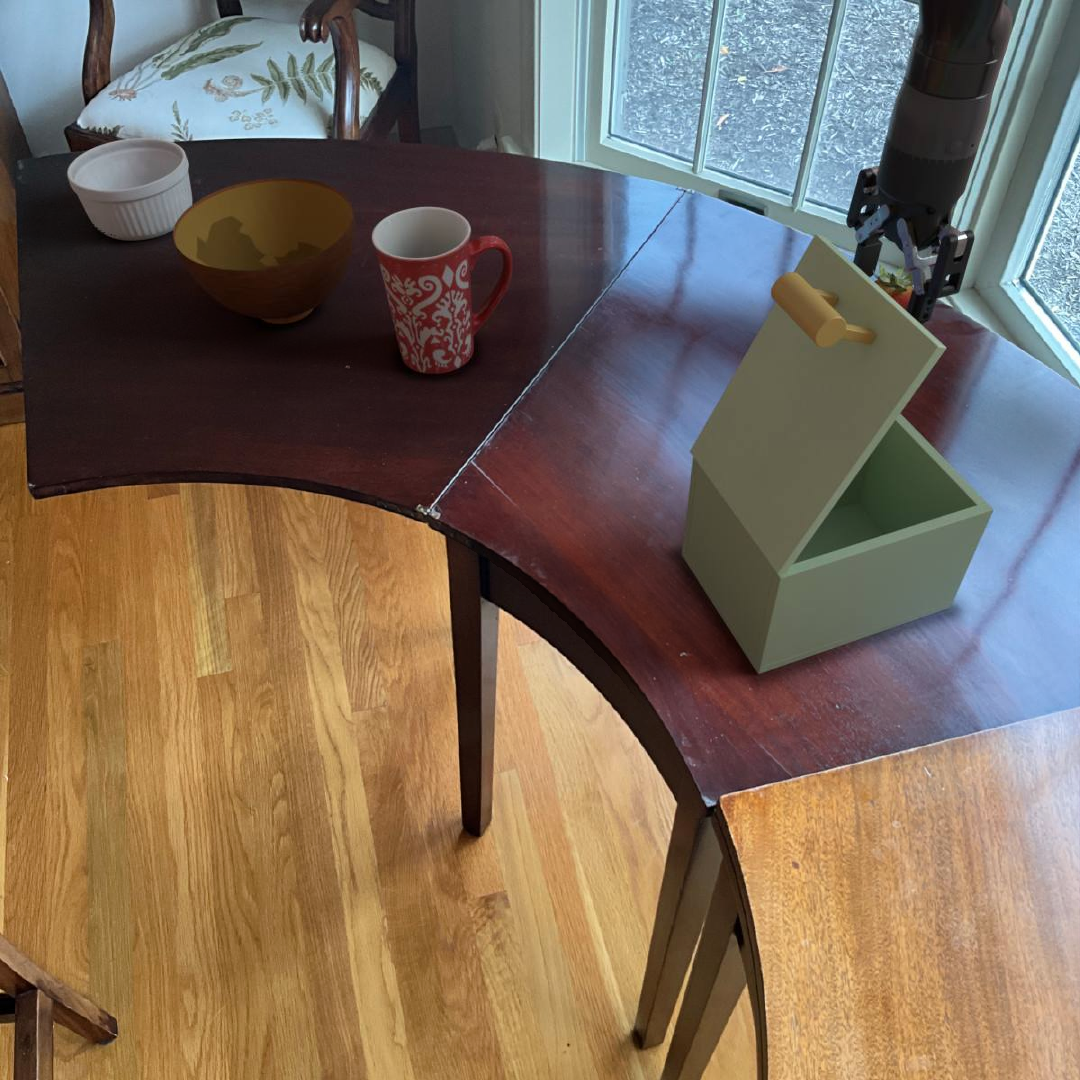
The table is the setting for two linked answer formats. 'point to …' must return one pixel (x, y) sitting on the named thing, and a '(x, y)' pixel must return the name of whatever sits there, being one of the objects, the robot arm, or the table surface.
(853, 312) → the lid
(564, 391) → the table surface
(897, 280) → the fruit
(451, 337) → the mug
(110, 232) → the ramekin
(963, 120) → the robot arm
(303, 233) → the bowl
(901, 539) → the chest
